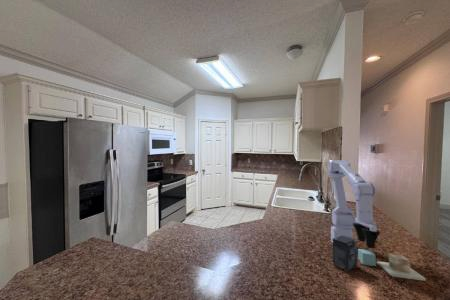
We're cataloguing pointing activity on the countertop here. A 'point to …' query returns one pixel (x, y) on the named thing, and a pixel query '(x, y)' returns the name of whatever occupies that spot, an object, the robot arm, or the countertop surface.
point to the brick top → (366, 257)
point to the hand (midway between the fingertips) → (366, 244)
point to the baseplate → (401, 274)
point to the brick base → (399, 263)
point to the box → (344, 252)
